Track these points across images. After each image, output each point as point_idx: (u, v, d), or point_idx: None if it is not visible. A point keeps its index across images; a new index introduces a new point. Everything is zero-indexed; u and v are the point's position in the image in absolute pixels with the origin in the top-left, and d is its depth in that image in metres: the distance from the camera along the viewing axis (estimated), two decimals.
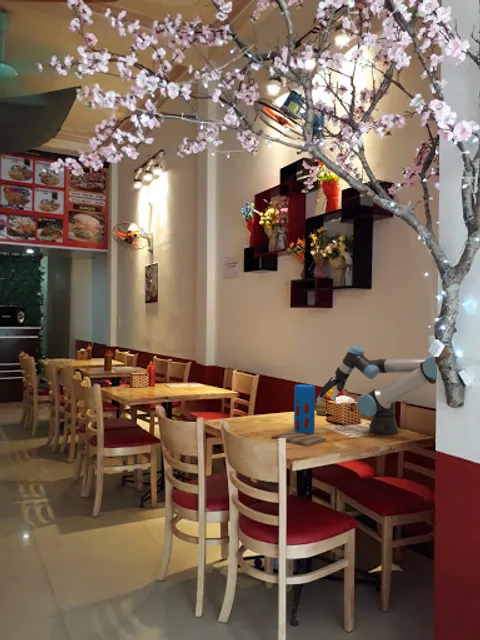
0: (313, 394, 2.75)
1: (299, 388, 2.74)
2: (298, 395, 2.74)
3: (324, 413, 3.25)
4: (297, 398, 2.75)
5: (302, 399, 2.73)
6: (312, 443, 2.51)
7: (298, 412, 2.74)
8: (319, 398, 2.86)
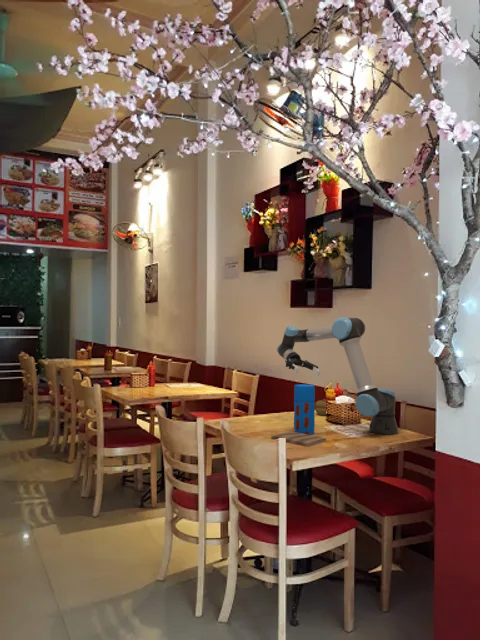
0: (313, 393, 2.75)
1: (299, 387, 2.75)
2: (298, 394, 2.75)
3: (324, 413, 3.25)
4: (297, 398, 2.75)
5: (302, 399, 2.73)
6: (312, 443, 2.51)
7: (298, 412, 2.74)
8: (295, 369, 2.84)
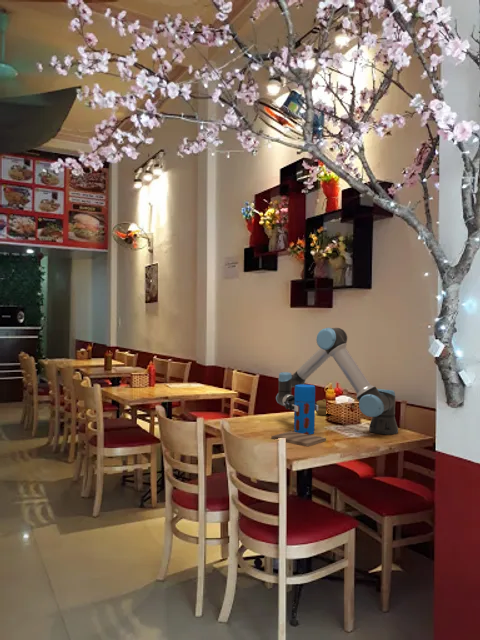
0: (313, 394, 2.75)
1: (299, 388, 2.74)
2: (298, 395, 2.74)
3: (324, 413, 3.25)
4: (297, 398, 2.75)
5: (302, 399, 2.73)
6: (312, 443, 2.51)
7: (298, 412, 2.74)
8: (295, 408, 2.74)
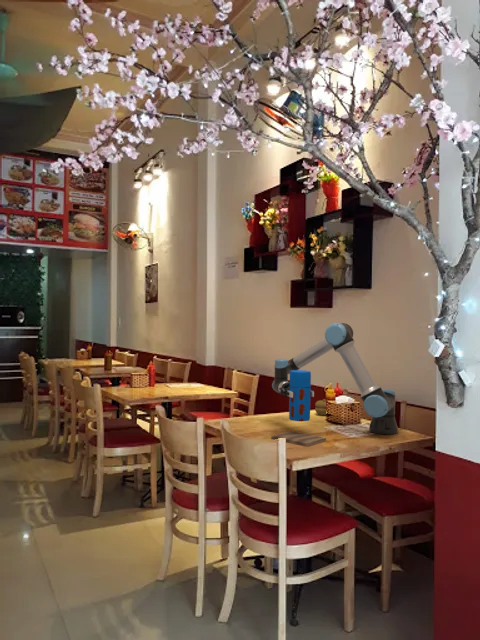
0: (309, 380, 2.67)
1: (294, 373, 2.66)
2: (293, 380, 2.67)
3: (324, 413, 3.25)
4: (292, 384, 2.67)
5: (297, 385, 2.65)
6: (312, 443, 2.51)
7: (293, 398, 2.67)
8: (290, 394, 2.67)
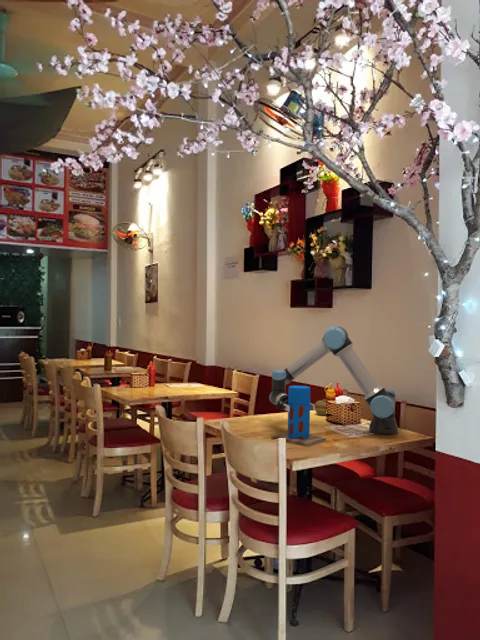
0: (308, 396, 2.58)
1: (293, 389, 2.57)
2: (292, 397, 2.57)
3: (324, 413, 3.25)
4: (291, 400, 2.58)
5: (297, 402, 2.56)
6: (312, 443, 2.51)
7: (292, 415, 2.57)
8: (286, 408, 2.58)
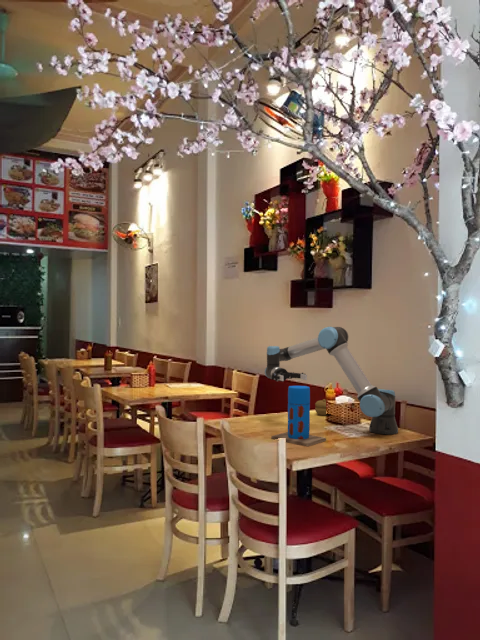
0: (308, 396, 2.58)
1: (293, 389, 2.57)
2: (292, 397, 2.57)
3: (324, 413, 3.25)
4: (291, 400, 2.58)
5: (296, 402, 2.56)
6: (312, 443, 2.51)
7: (292, 415, 2.57)
8: (280, 378, 2.78)
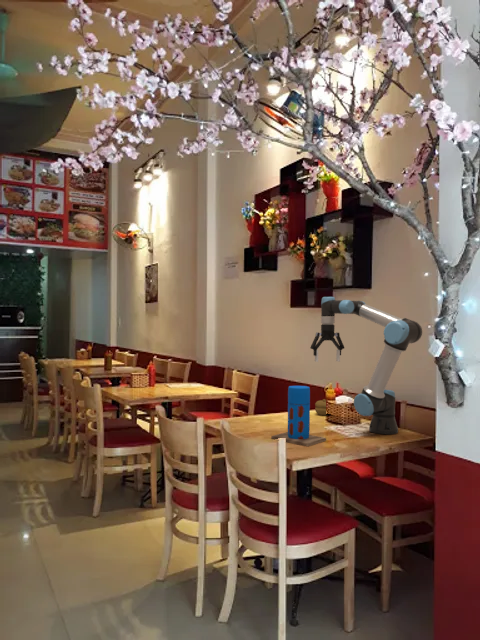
0: (308, 396, 2.58)
1: (293, 389, 2.57)
2: (292, 397, 2.57)
3: (324, 413, 3.25)
4: (291, 400, 2.58)
5: (296, 402, 2.56)
6: (312, 443, 2.51)
7: (292, 415, 2.57)
8: (315, 358, 2.94)
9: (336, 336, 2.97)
